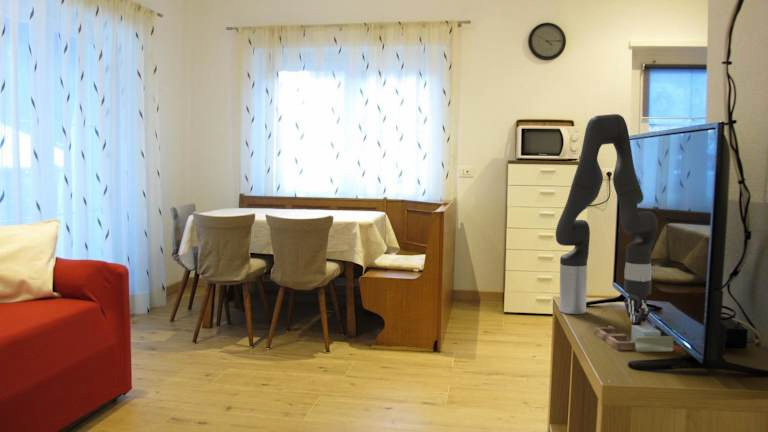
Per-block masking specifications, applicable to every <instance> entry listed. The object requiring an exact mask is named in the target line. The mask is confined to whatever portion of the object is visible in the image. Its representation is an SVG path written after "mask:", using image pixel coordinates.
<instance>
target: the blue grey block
mask: <svg viewBox="0 0 768 432" xmlns="http://www.w3.org/2000/svg"><path fill="white" fill-rule="evenodd" d="M631 329H632V332H631V331H630V332H631V335H630V336H631V337H630V342H635V337H644V336H661V330H659V329H657V328H655V327H653V326H650V325H649V324H641V325H632V324H631Z"/></svg>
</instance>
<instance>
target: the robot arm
mask: <svg viewBox="0 0 768 432" xmlns="http://www.w3.org/2000/svg"><path fill="white" fill-rule="evenodd" d="M627 125H628V124H627V122H626V120H625V118H624V116H622V115H621V114H618V113H617V114H616V113H613V114H612V113H611V114H602V115H601V114H599V115H594V116H592V117H591V118H590V119H589V120H588V122H587V125H586V128H585V132H584V137H583V142H582V147H581V152H580V156H579V159H578V164H577V167H576V171H575V173H574V176H573V179H572V183H571V186H570V189H569V194H568V196H567V200H566V203H565V206H564V208H563V210H562V213H561V215H560V218H559V220H558V222H557V225H556V229H555V240H556V242H557V244H559V245H561V246H565V247H569V246H573V249H572V250H570V251H568V252H567V253H565V254H562V255H561V256H560V259H559V261H560V262H559V301H558V303H559V305H558V308H559V309H558V311H559V312H561V313H564V314H568V315H569V314H570V315H584V314H586V312H587V285H588V284H587V281H588V279H587V278H588V277H587V276H588V260H589V254H590V253H589V251H590V250H589V249H590V241H591V239H590V237H591V234H590V233H591V230H590V229H591V228H590V225H589V223H588V222H587V221H586V219H585V220H584V219H577V218H578V217H579V216H580V214H581V213H583V212H584V211H585V210H586V209H587V208H588V207H589V206H591V205H592V204H593V202H595V200H596V199H597V198H598V196H599V194H600V191H601V188H602V186H603V182H604V175H603V172H602V169H601V167H600V163H599V161H598V156H599V152H600V150H601V147H602V146H603V145H610V144H611V145H612V144H613V146H614V149H615V152H616V160H615V161H616V162H615V167H614V171H613V176H612V184H613V186H614V190H615V193H616V195H617V196H616V197H617V200H618V202H619V203H618V205H619V207H618V208H619V209H618V210H619V223H620V226H621V228H622V230H623V231H624V232H625V234H627V235H629V236H635V238H634V239H633V241H632V242H630V243H628V244H627V245H626V249H625V264H624V265H625V266H624V275H623V277H624V278H623V291H624V293H626V294H627V298H626V299H623V303H624V306H625V311H626V313H627V317H628V318H630V321H631V326H632V325H642V323H645V322H646V321H647V319H648V317H649V316H650V313H651V312H652V311H651V307H647V296H648V295H651V293H652V273H653V271H652V248H653V246H654V243H655V240H656V236H657V233H658V228H659V223H658V218H657V216H656V215H655V214H654V213H653V212H651V211H650V210H649V211H648V210H641V211H640V210H639V209H638V205H639V204H641V203H642V202H643V201H644V193H643V191H642V187H641V185H640V183H639V179H638V177H637V173H636V169H635V165H634V159H633V152H632V145H631V140H630V135H629V133H630V132H629V129H628V126H627ZM630 332H632V328H631V331H630Z"/></svg>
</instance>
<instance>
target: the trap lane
mask: <svg viewBox="0 0 768 432" xmlns="http://www.w3.org/2000/svg"><path fill="white" fill-rule="evenodd" d="M616 330H617V328H616V327H614V326H612V325H608V326H607V327H594V335H595V336H597V337H598V338H600V339H601V340H602V341H603V342H605V343H606V344H608V345H609V346H610V347H611V348H613V349H615V350H616V351H625V350H626V351H627V350H628V351H629V350H630V351H631V350H632V351H634V352H638V353H639V352H646V353H647V352H674V337H673V336H672V335H662V336H644V337H635V342H631V341H628V335H626V334H625V333H617V331H616ZM671 336H672V337H673V338H672V337H671Z"/></svg>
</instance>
